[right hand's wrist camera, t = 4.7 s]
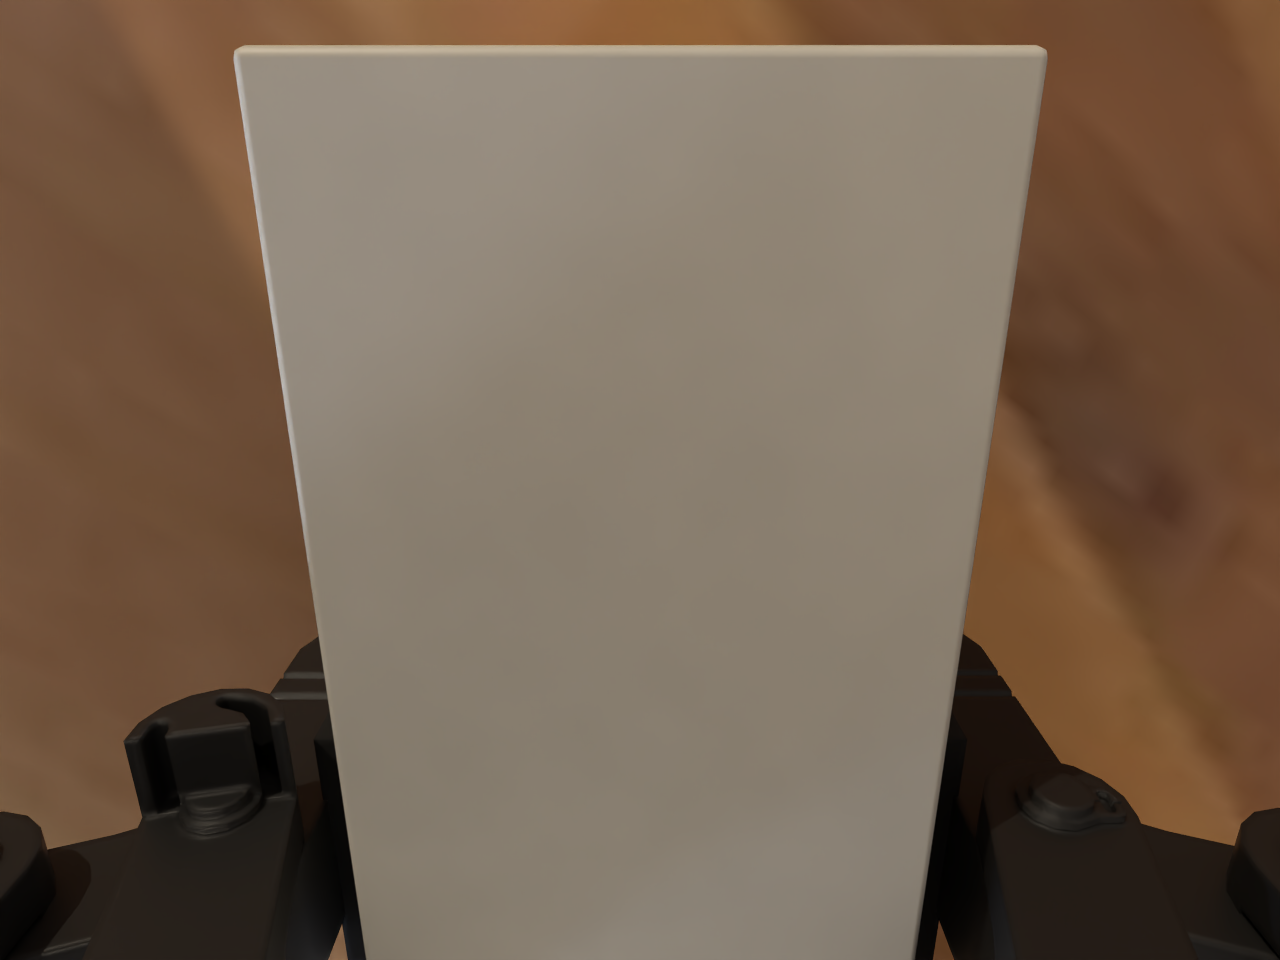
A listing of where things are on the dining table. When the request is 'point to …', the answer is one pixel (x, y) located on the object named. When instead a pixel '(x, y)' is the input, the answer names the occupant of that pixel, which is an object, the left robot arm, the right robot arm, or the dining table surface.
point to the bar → (640, 472)
